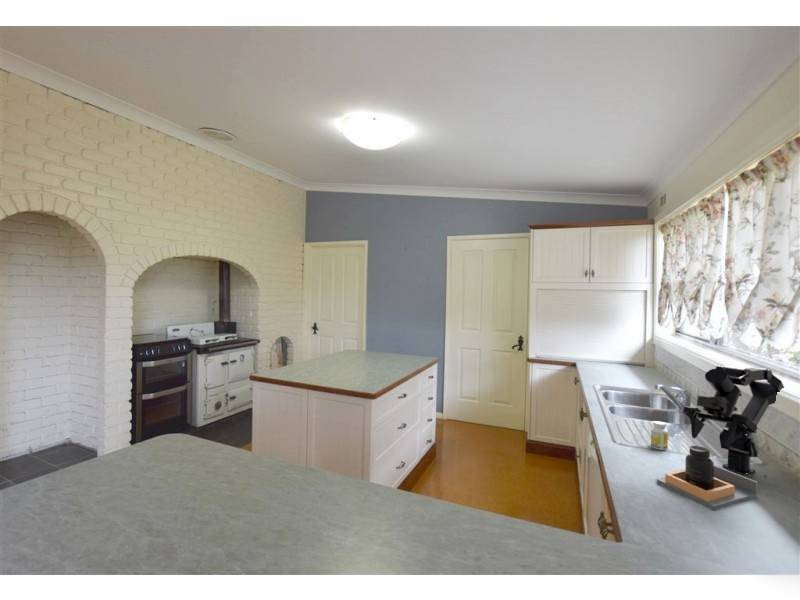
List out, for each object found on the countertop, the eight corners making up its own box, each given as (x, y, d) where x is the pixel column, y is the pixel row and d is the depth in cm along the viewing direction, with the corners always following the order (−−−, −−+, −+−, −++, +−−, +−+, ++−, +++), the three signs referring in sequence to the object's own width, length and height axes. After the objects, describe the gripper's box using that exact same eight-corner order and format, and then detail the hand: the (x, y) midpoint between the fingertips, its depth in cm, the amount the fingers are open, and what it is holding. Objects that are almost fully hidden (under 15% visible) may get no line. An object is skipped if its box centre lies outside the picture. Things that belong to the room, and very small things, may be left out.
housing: (698, 472, 126) (698, 459, 126) (757, 497, 111) (757, 481, 111) (656, 482, 119) (657, 468, 119) (713, 510, 104) (713, 493, 104)
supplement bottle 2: (693, 480, 119) (693, 442, 119) (718, 490, 113) (719, 451, 112) (679, 484, 116) (680, 446, 116) (705, 495, 110) (706, 455, 110)
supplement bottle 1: (664, 445, 148) (665, 421, 148) (669, 451, 143) (670, 425, 143) (648, 443, 150) (649, 419, 150) (653, 449, 145) (653, 424, 145)
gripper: (680, 382, 131) (663, 421, 127) (743, 389, 113) (726, 434, 109) (700, 400, 133) (684, 439, 129) (765, 410, 115) (748, 455, 111)
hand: (708, 441), depth 119 cm, fingers open, 9 cm apart
